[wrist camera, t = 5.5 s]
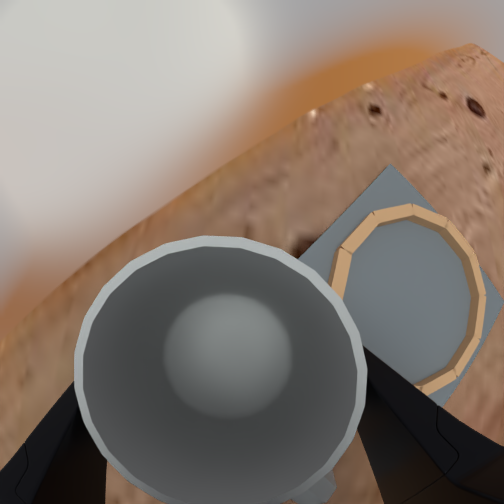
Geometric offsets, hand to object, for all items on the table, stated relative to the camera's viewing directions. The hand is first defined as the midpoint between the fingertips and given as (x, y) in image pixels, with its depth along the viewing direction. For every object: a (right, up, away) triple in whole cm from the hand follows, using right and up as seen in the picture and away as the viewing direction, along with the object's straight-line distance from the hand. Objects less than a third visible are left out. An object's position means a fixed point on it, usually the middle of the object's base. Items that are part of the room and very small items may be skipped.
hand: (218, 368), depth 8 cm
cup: (0, -3, +7) cm, 7 cm away
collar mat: (+14, -1, +14) cm, 19 cm away
